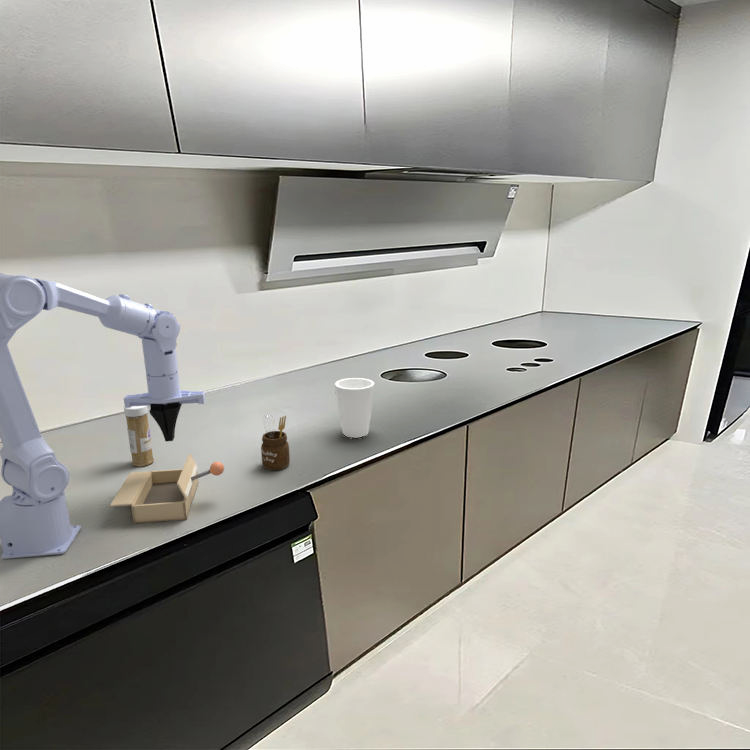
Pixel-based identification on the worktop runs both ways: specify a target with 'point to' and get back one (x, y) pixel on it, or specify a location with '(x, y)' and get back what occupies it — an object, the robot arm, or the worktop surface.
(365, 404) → the foam cup
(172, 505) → the carton
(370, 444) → the worktop surface
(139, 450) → the sprinkles bottle
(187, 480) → the flap
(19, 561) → the worktop surface
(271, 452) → the utensil holder
